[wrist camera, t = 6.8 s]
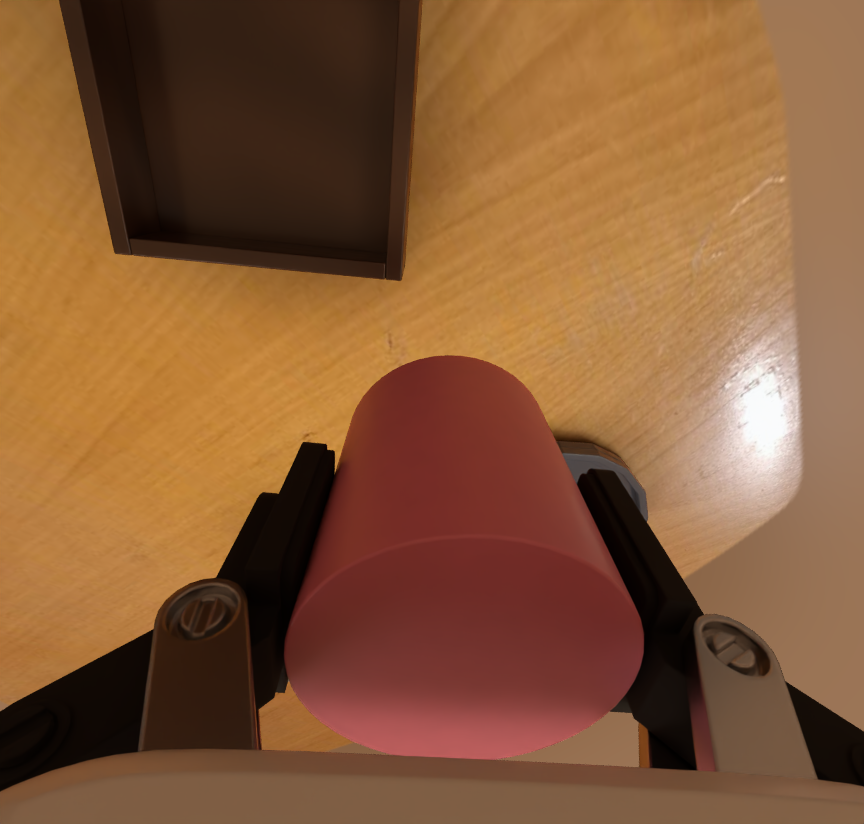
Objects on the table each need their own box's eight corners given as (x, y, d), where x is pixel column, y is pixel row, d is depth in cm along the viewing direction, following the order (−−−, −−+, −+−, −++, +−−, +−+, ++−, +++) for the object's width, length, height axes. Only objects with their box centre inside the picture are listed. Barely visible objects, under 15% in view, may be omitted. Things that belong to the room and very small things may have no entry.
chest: (404, 267, 25) (401, 281, 22) (156, 243, 25) (114, 254, 21) (431, -131, 18) (432, -200, 15) (81, -182, 17) (-1, -267, 14)
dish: (658, 444, 31) (672, 461, 29) (609, 570, 37) (619, 590, 35) (486, 431, 31) (489, 447, 29) (463, 561, 36) (465, 580, 34)
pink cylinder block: (568, 366, 13) (704, 553, 6) (523, 529, 15) (588, 770, 9) (351, 343, 12) (274, 518, 6) (345, 515, 15) (288, 755, 9)
